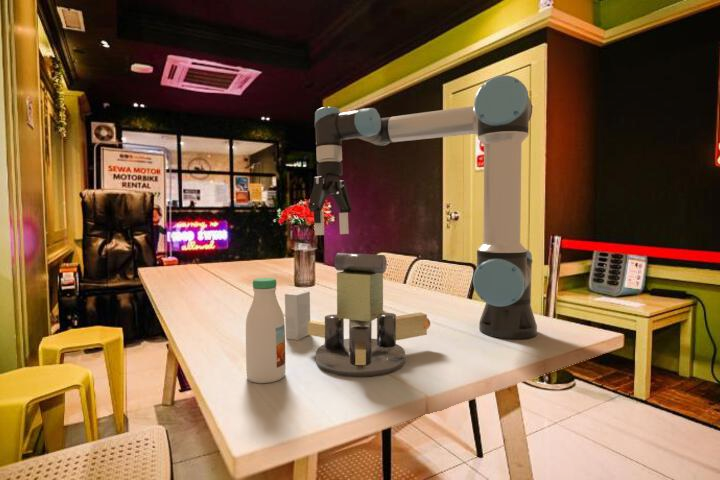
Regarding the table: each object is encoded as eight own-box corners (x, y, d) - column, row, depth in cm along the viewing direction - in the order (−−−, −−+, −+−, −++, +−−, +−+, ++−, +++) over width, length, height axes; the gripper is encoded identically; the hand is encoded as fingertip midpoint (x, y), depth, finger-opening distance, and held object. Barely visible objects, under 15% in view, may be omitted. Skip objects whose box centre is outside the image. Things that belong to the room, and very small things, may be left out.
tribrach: (417, 353, 100) (417, 251, 99) (378, 389, 79) (378, 262, 78) (328, 339, 111) (328, 248, 109) (274, 369, 90) (272, 256, 88)
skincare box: (297, 332, 117) (297, 289, 117) (310, 334, 115) (310, 291, 115) (284, 338, 112) (284, 293, 111) (298, 340, 110) (297, 295, 109)
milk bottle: (266, 387, 81) (264, 283, 79) (238, 379, 85) (236, 280, 83) (293, 374, 87) (292, 278, 86) (266, 367, 91) (264, 275, 90)
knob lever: (383, 348, 96) (383, 318, 95) (373, 343, 100) (373, 314, 99) (434, 338, 103) (434, 310, 103) (423, 334, 107) (423, 306, 107)
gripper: (340, 168, 137) (343, 233, 138) (293, 158, 115) (296, 236, 116) (360, 165, 134) (363, 233, 134) (316, 154, 112) (319, 235, 112)
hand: (332, 234), depth 125 cm, fingers open, 13 cm apart
